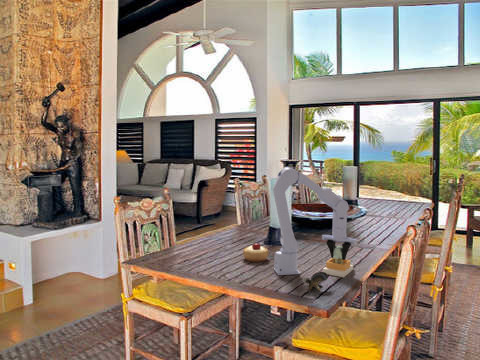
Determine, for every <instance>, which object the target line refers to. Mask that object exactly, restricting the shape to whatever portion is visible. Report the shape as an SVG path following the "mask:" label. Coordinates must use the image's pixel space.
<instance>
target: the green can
mask: <svg viewBox="0 0 480 360" xmlns="http://www.w3.org/2000/svg"><path fill="white" fill-rule="evenodd" d="M342 257H343V248H342V245H335V246H333V263H338V264H344V260H343V258H342Z"/></svg>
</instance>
